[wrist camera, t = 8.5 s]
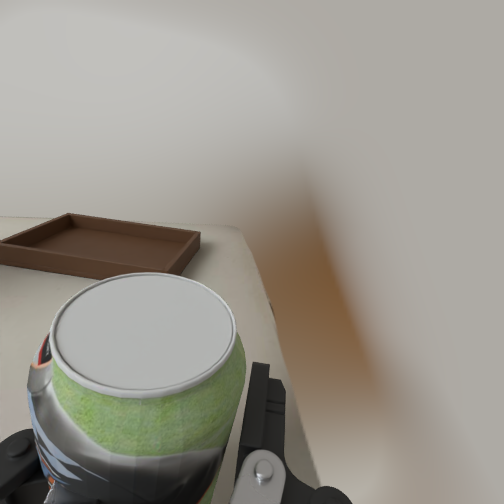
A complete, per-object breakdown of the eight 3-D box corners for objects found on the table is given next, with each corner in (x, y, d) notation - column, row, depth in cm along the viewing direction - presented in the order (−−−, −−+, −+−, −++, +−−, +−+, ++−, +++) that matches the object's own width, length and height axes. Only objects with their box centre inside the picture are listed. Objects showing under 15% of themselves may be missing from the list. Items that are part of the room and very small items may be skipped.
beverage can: (115, 445, 17) (80, 244, 12) (246, 473, 16) (263, 268, 11) (17, 610, 11) (-123, 353, 6) (212, 668, 10) (220, 419, 5)
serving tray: (200, 247, 47) (200, 231, 46) (168, 290, 35) (168, 270, 34) (70, 228, 49) (68, 212, 47) (-4, 263, 36) (-9, 243, 35)
